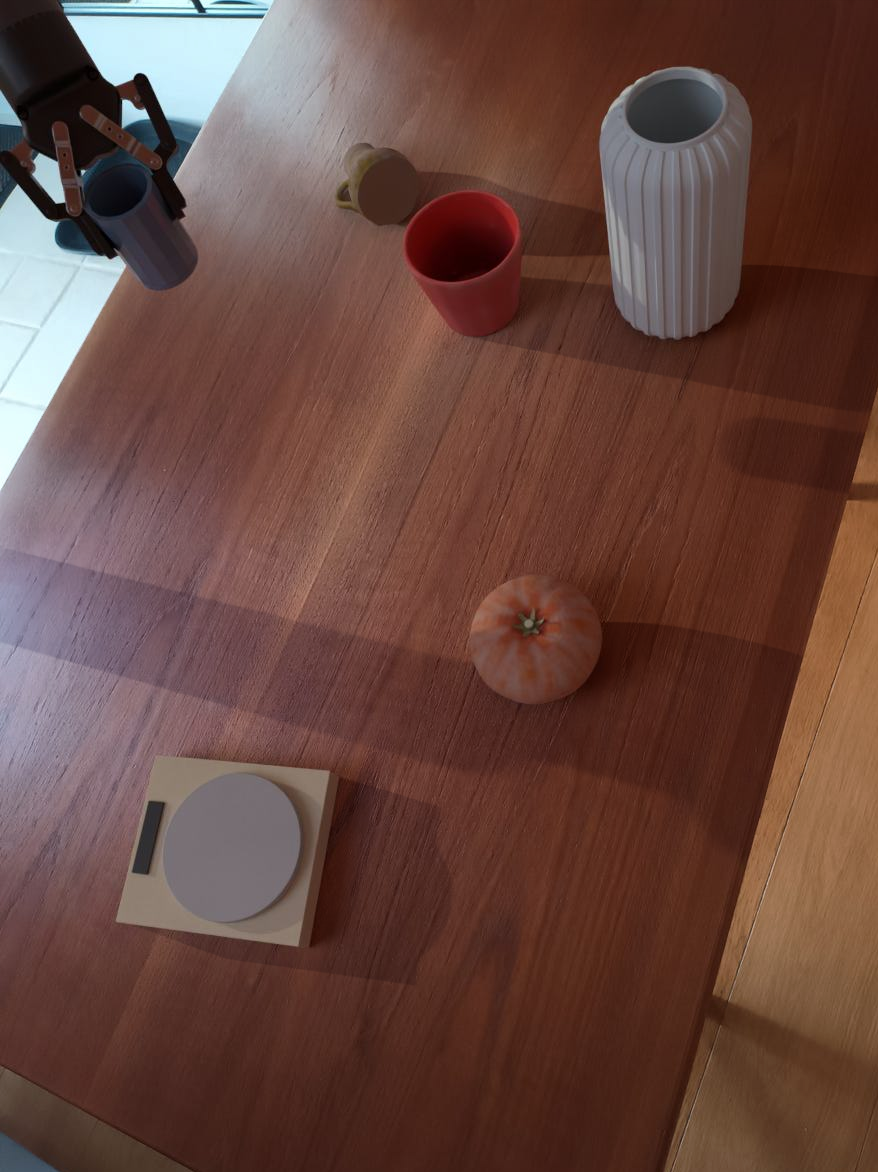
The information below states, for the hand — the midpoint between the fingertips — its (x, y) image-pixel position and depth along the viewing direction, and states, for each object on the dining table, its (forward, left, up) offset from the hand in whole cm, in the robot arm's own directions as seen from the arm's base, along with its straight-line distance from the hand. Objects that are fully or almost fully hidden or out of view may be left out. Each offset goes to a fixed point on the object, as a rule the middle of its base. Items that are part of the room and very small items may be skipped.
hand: (147, 236), depth 84 cm
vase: (+43, +7, -19) cm, 48 cm away
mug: (+11, +21, -19) cm, 31 cm away
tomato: (+34, -29, -19) cm, 49 cm away
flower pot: (+24, +7, -19) cm, 32 cm away
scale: (+10, -48, -19) cm, 52 cm away
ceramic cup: (-1, +1, -5) cm, 5 cm away
